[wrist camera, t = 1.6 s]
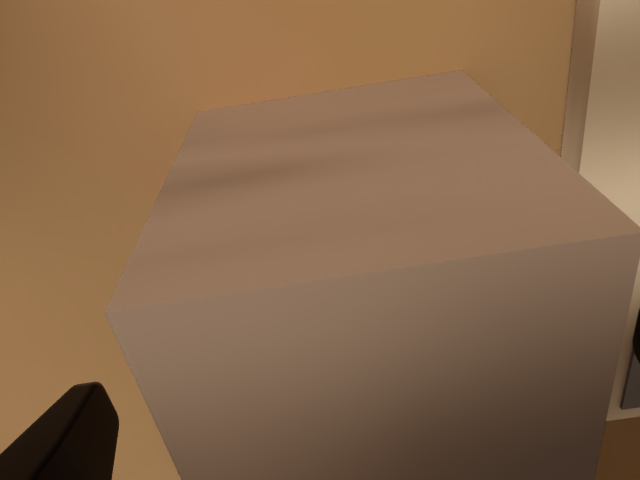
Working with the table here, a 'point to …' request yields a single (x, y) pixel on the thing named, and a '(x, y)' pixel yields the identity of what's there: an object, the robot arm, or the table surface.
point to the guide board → (609, 141)
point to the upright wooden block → (377, 293)
